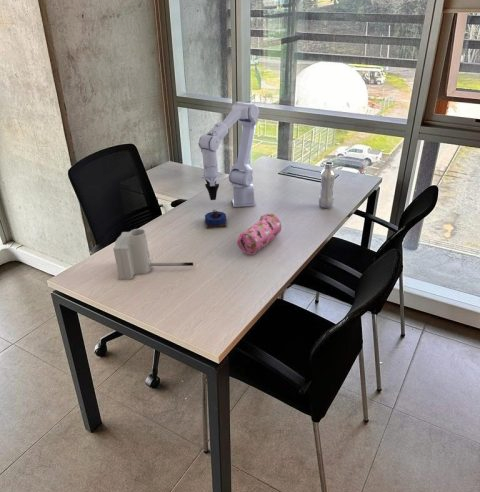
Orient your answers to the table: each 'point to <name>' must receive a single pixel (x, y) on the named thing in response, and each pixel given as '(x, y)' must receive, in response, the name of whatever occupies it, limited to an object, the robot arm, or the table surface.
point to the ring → (215, 221)
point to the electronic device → (135, 255)
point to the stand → (215, 215)
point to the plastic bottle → (327, 186)
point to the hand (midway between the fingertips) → (212, 196)
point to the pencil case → (259, 234)
